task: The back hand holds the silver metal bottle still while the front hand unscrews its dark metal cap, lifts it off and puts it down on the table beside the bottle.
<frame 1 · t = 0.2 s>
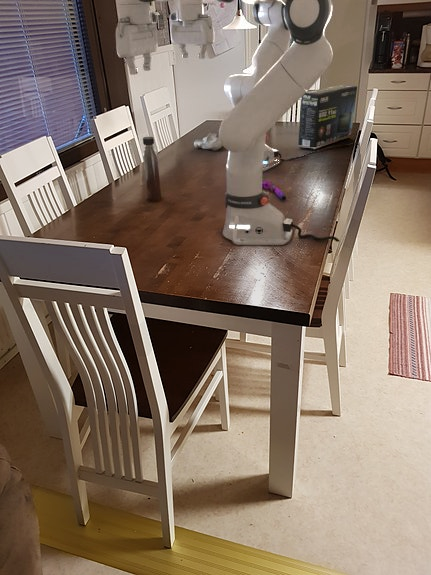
front hand: (140, 72, 133), 48 cm above the table, tool pointing down, fingers open, 8 cm apart
back hand: (193, 58, 169), 48 cm above the table, tool pointing down, fingers open, 8 cm apart
fossil: (210, 147, 246), on the table
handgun: (269, 192, 182), on the table
bottle: (154, 199, 180), on the table
router box: (325, 143, 245), on the table
cap: (148, 138, 168), point 23 cm above the table, screwed on, not yet turned
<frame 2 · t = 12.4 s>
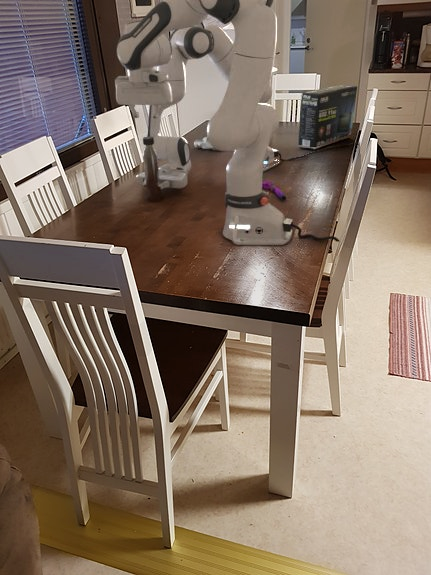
front hand: (146, 117, 164), 30 cm above the table, tool pointing down, fingers open, 6 cm apart
back hand: (152, 186, 177), 6 cm above the table, tool horizontal, fingers closed on bottle, 5 cm apart
bottle: (154, 199, 180), on the table, touching back hand
everything else where it was.
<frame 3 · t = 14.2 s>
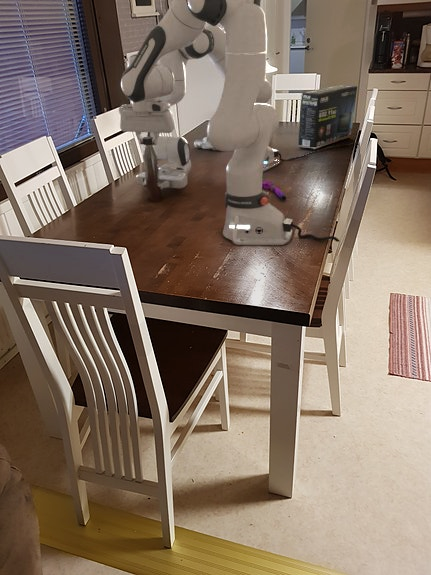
front hand: (148, 144, 169), 21 cm above the table, tool pointing down, fingers closed on cap, 4 cm apart
back hand: (152, 186, 177), 6 cm above the table, tool horizontal, fingers closed on bottle, 5 cm apart
bottle: (154, 199, 180), on the table, touching back hand
cap: (148, 138, 168), point 23 cm above the table, screwed on, not yet turned, touching front hand
everything else where it was.
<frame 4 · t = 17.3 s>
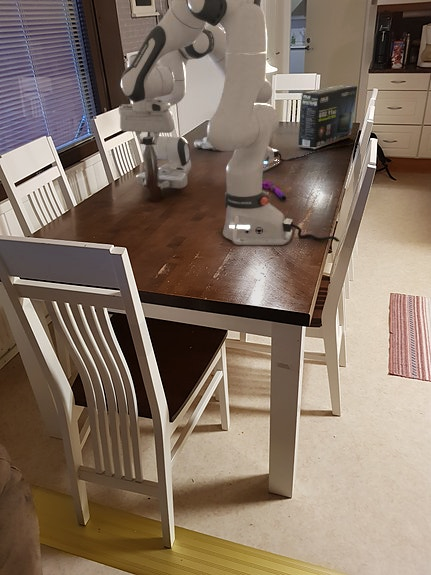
front hand: (148, 144, 169), 21 cm above the table, tool pointing down, fingers closed on cap, 4 cm apart
back hand: (152, 186, 177), 6 cm above the table, tool horizontal, fingers closed on bottle, 5 cm apart
bottle: (154, 199, 180), on the table, touching back hand
cap: (148, 138, 168), point 23 cm above the table, turned 73° so far, risen 0.1 cm, still on its thread, touching front hand
everything else where it was.
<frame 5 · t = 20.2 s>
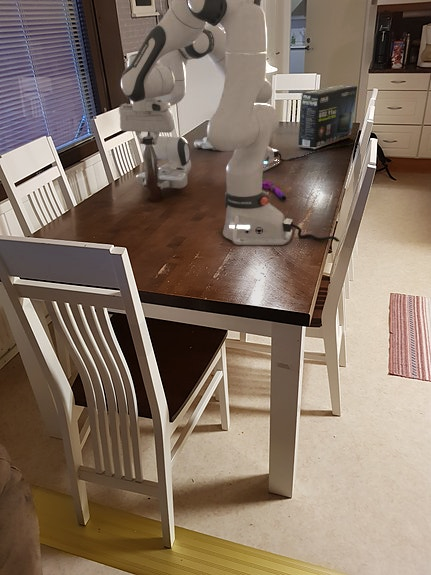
front hand: (148, 144, 169), 21 cm above the table, tool pointing down, fingers closed on cap, 4 cm apart
back hand: (152, 186, 177), 6 cm above the table, tool horizontal, fingers closed on bottle, 5 cm apart
bottle: (154, 199, 180), on the table, touching back hand
cap: (148, 138, 168), point 23 cm above the table, turned 145° so far, risen 0.1 cm, still on its thread, touching front hand
everything else where it was.
when the front hand's fingers open (2 cm above the table, at t = 36.4 s): cap drops 2 cm, point 2 cm above the table.
when the back hand's fingers open (6 cm above the table, at t = 37.7 s): bottle stays where it is, on the table.
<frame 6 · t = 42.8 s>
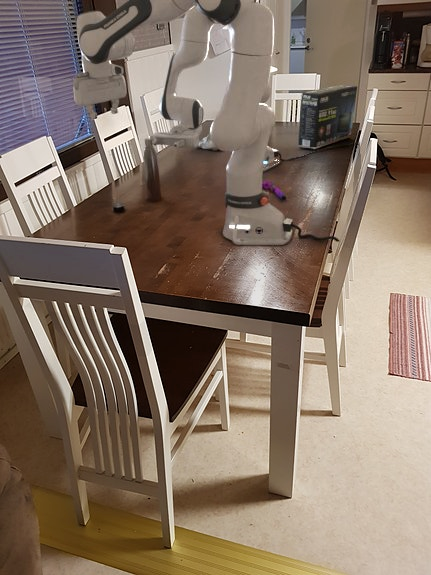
front hand: (104, 116, 153), 34 cm above the table, tool pointing down, fingers open, 8 cm apart
back hand: (165, 144, 181), 18 cm above the table, tool horizontal, fingers open, 8 cm apart
bottle: (154, 199, 180), on the table
cap: (118, 206, 170), point 2 cm above the table, off its thread
everything else where it was.
at the end: cap came off its thread; cap point 1.9 cm above the table; the front hand is holding nothing; the back hand is holding nothing; bottle tilted 0°; bottle moved 0.0 cm from its start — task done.
